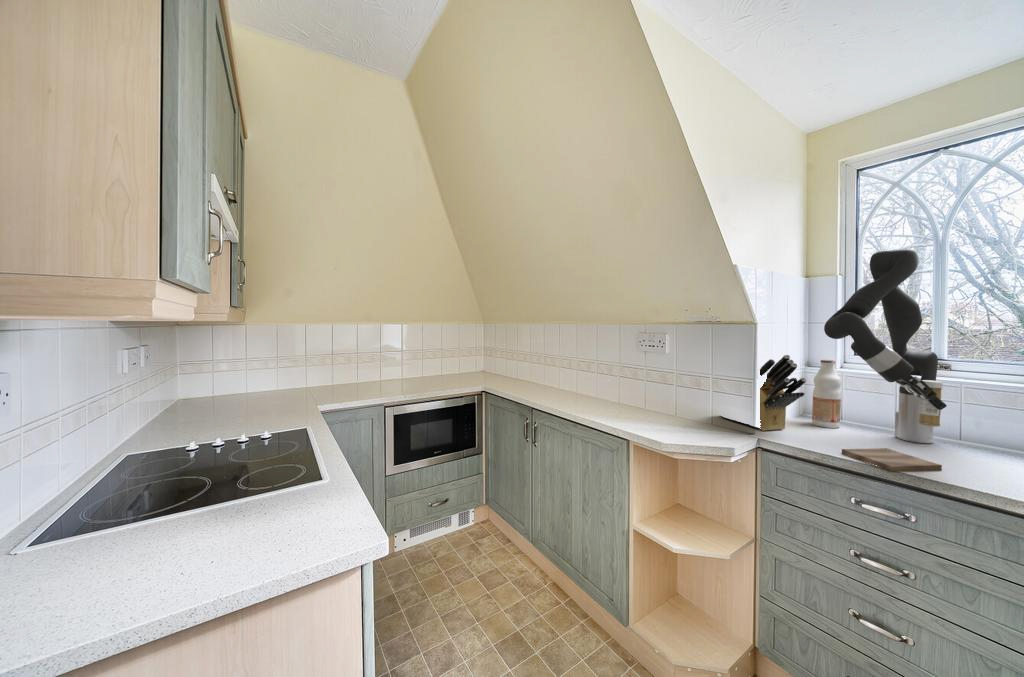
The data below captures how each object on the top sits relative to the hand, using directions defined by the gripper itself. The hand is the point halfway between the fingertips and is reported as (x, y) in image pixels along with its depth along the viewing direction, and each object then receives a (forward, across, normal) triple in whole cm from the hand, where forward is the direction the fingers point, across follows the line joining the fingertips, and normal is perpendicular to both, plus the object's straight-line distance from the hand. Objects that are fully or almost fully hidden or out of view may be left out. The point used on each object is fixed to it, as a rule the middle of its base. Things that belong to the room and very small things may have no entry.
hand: (938, 406), depth 119 cm
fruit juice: (+1, +46, +25) cm, 53 cm away
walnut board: (+6, 0, +21) cm, 21 cm away
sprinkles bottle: (+3, 0, +6) cm, 6 cm away
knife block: (-17, +32, +44) cm, 57 cm away
